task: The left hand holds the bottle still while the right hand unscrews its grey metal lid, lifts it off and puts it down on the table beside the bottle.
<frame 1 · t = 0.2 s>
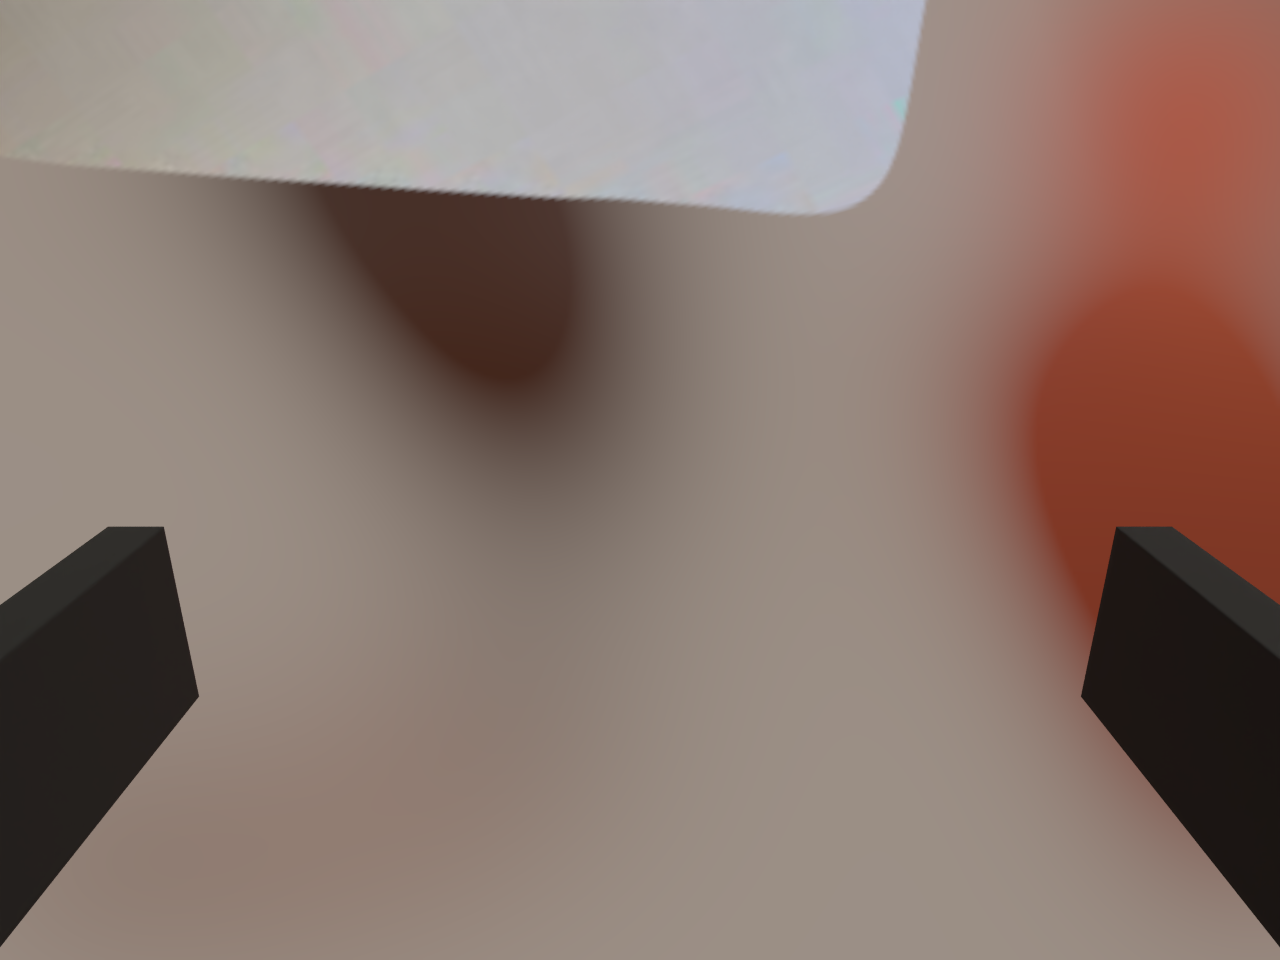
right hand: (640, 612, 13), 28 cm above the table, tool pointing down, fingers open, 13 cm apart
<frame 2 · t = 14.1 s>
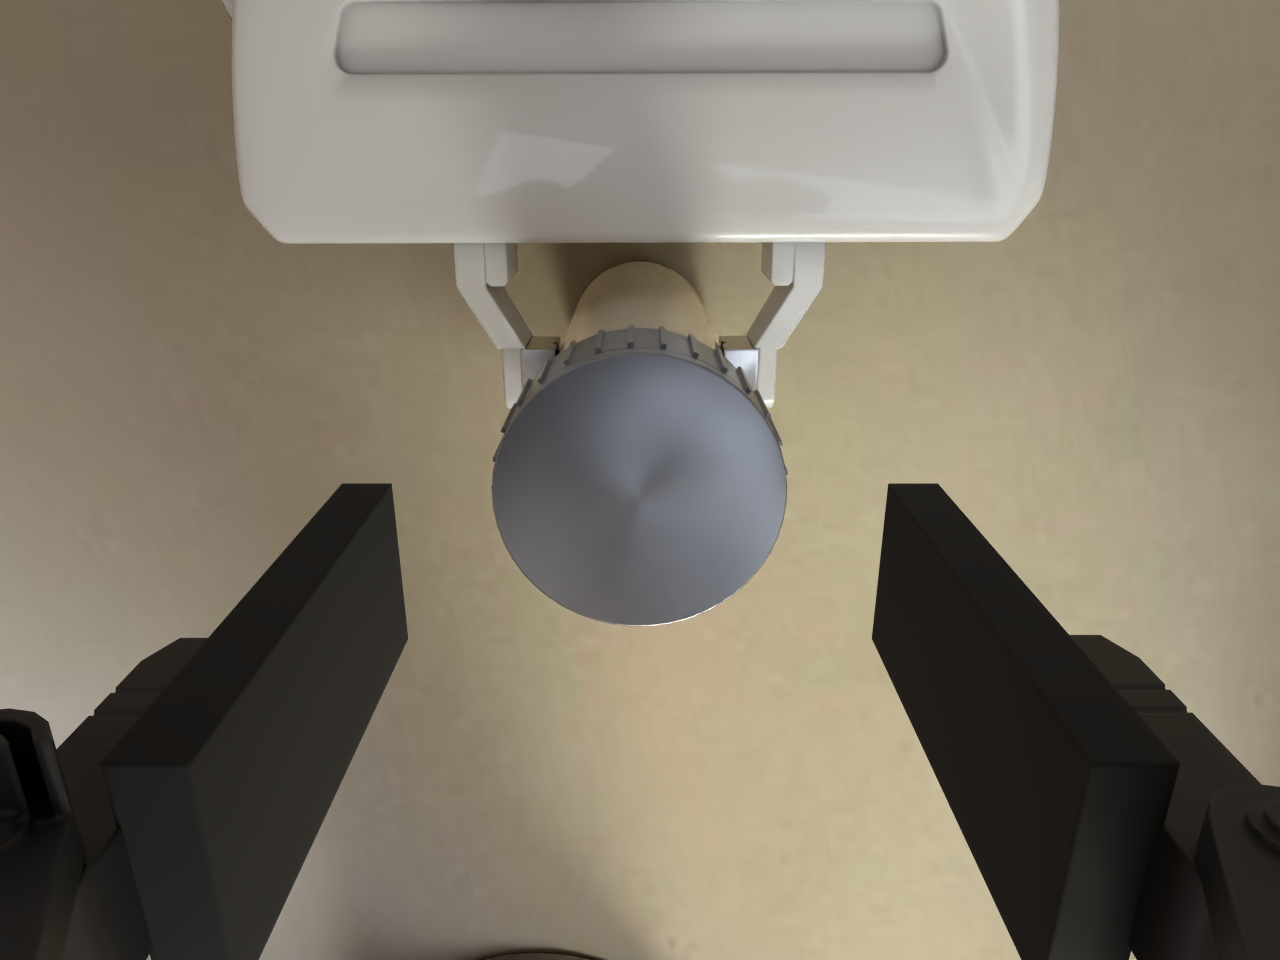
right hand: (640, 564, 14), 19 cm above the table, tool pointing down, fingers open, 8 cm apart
bottle: (639, 329, 31), on the table, touching left hand
lid: (639, 491, 17), point 16 cm above the table, screwed on, not yet turned
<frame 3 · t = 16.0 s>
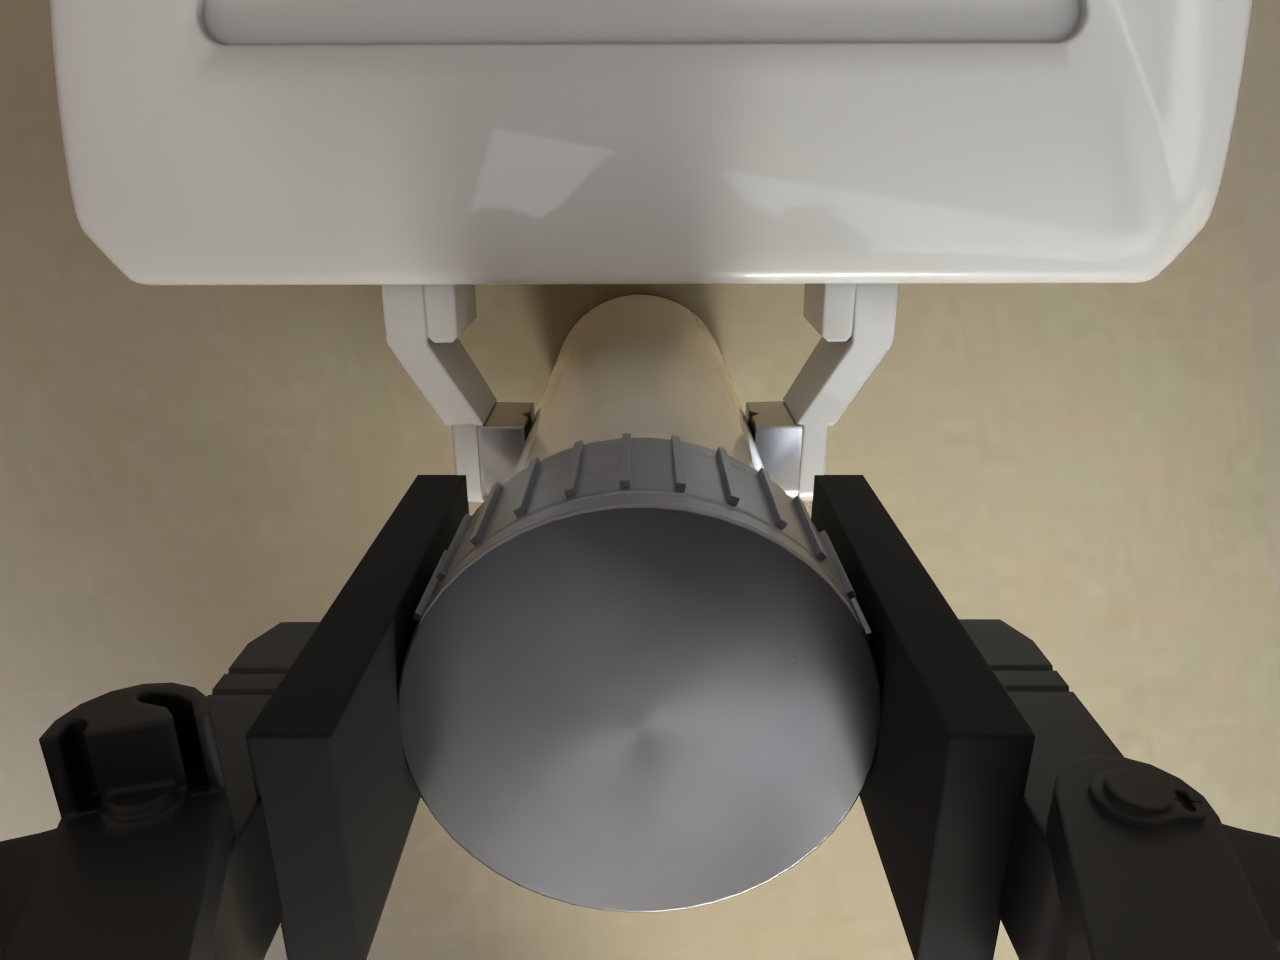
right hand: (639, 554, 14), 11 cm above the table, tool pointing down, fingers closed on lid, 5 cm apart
bottle: (640, 378, 25), on the table, touching left hand
lid: (639, 710, 10), point 16 cm above the table, screwed on, not yet turned, touching right hand
when the right hand's fingers open (12 cm above the table, at t = 17.3 s): lid stays where it is, point 16 cm above the table.
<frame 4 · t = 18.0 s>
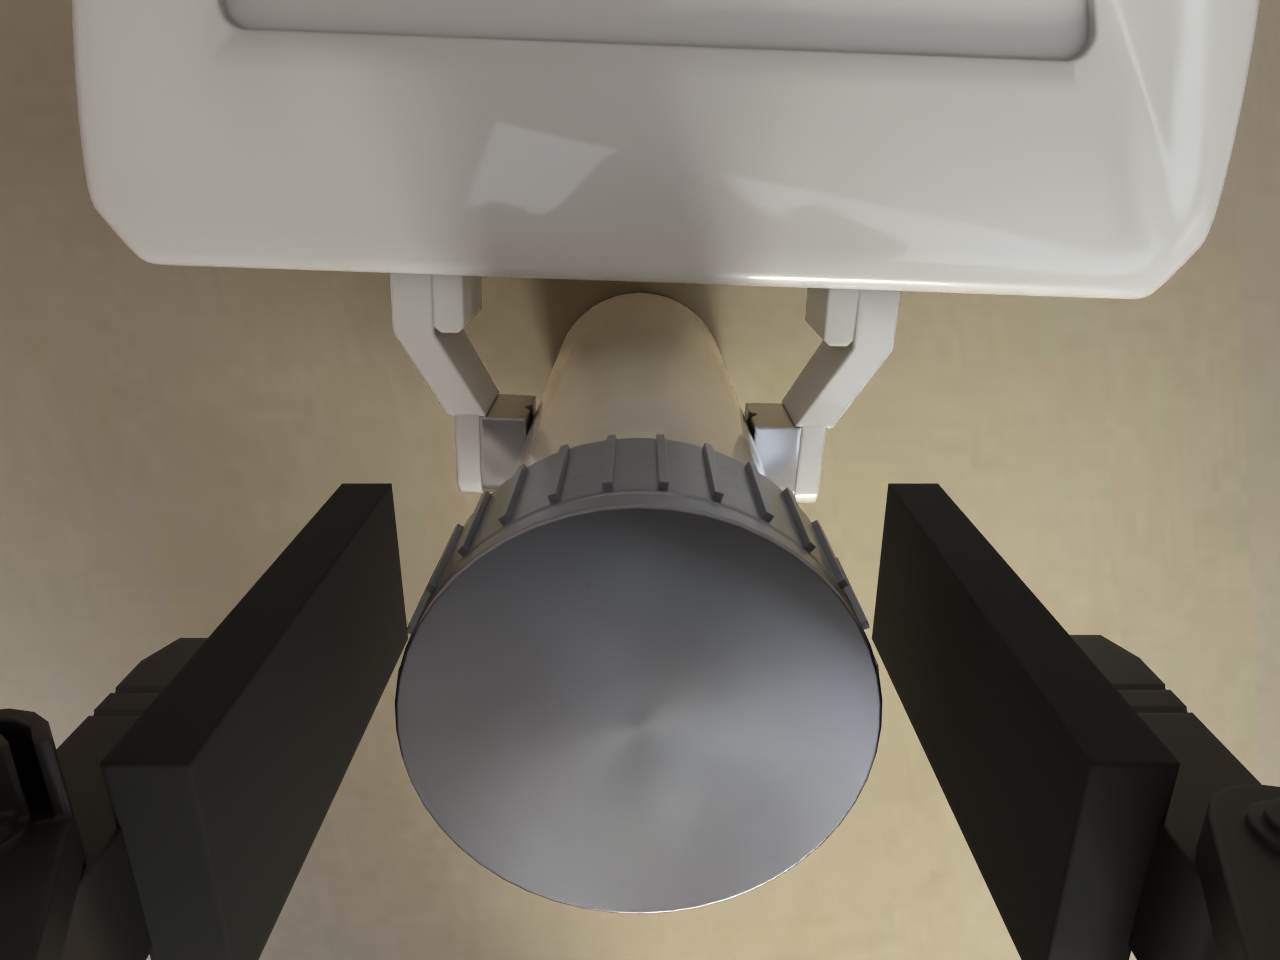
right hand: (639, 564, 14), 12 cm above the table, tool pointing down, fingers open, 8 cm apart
bottle: (639, 376, 25), on the table, touching left hand
lid: (638, 711, 10), point 16 cm above the table, turned 80° so far, risen 0.2 cm, still on its thread
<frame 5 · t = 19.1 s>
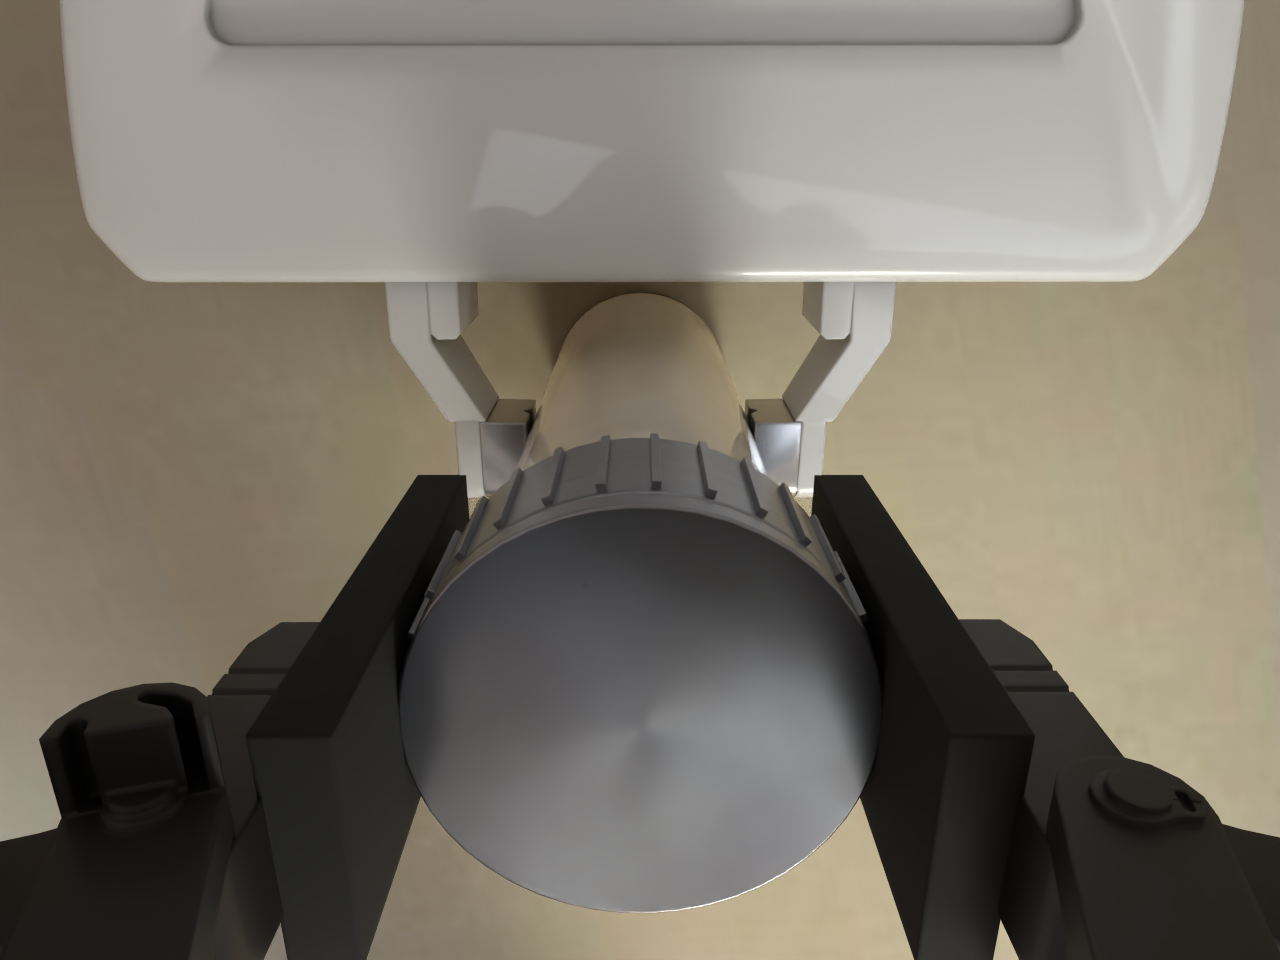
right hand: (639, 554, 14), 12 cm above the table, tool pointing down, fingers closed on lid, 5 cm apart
bottle: (640, 376, 25), on the table, touching left hand
lid: (640, 711, 10), point 16 cm above the table, turned 80° so far, risen 0.2 cm, still on its thread, touching right hand
when the right hand's fingers open (0 cm above the table, at t = 26.5 s): lid drops 2 cm, point 2 cm above the table.
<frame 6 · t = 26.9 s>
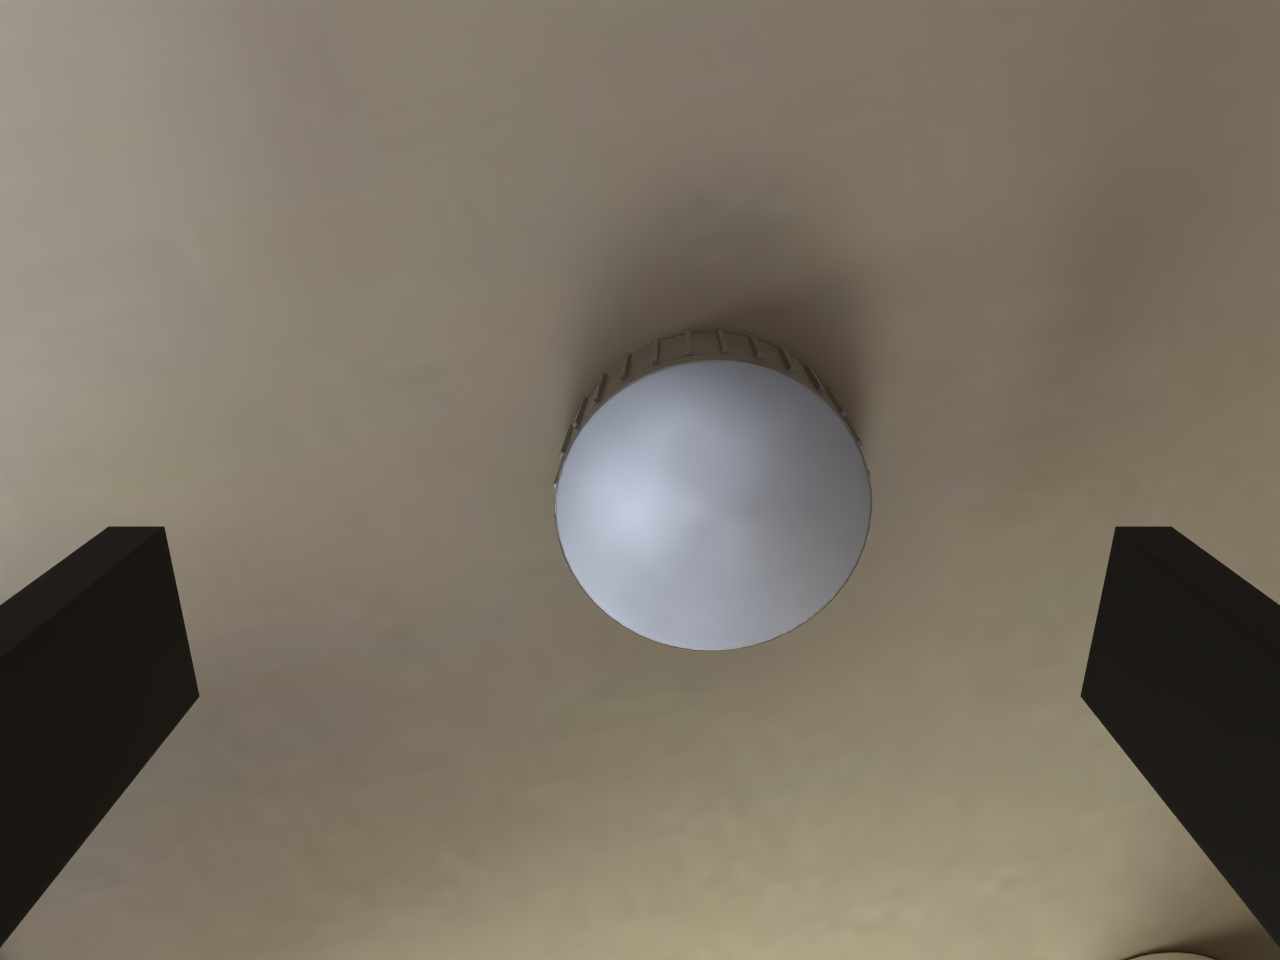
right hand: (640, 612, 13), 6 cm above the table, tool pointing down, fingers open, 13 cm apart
lid: (711, 507, 16), point 2 cm above the table, off its thread
when the left hand's fingers open (6 cm above the table, at t = 27.2 s): bottle stays where it is, on the table.
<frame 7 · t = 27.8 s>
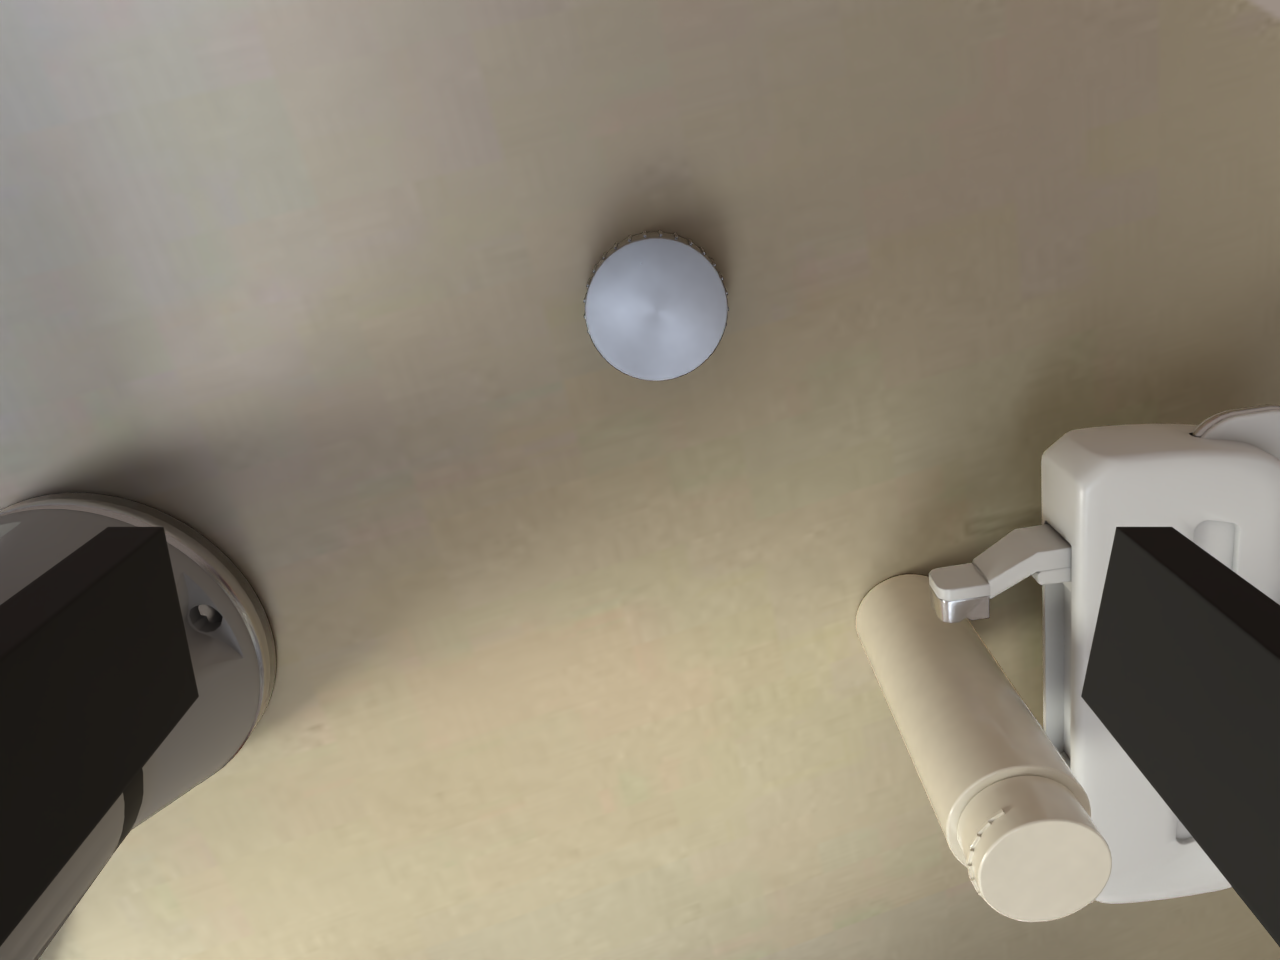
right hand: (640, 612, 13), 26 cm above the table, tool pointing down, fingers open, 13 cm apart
left hand: (939, 700, 36), fingers open, 8 cm apart
bottle: (905, 618, 42), on the table
lid: (656, 309, 35), point 2 cm above the table, off its thread
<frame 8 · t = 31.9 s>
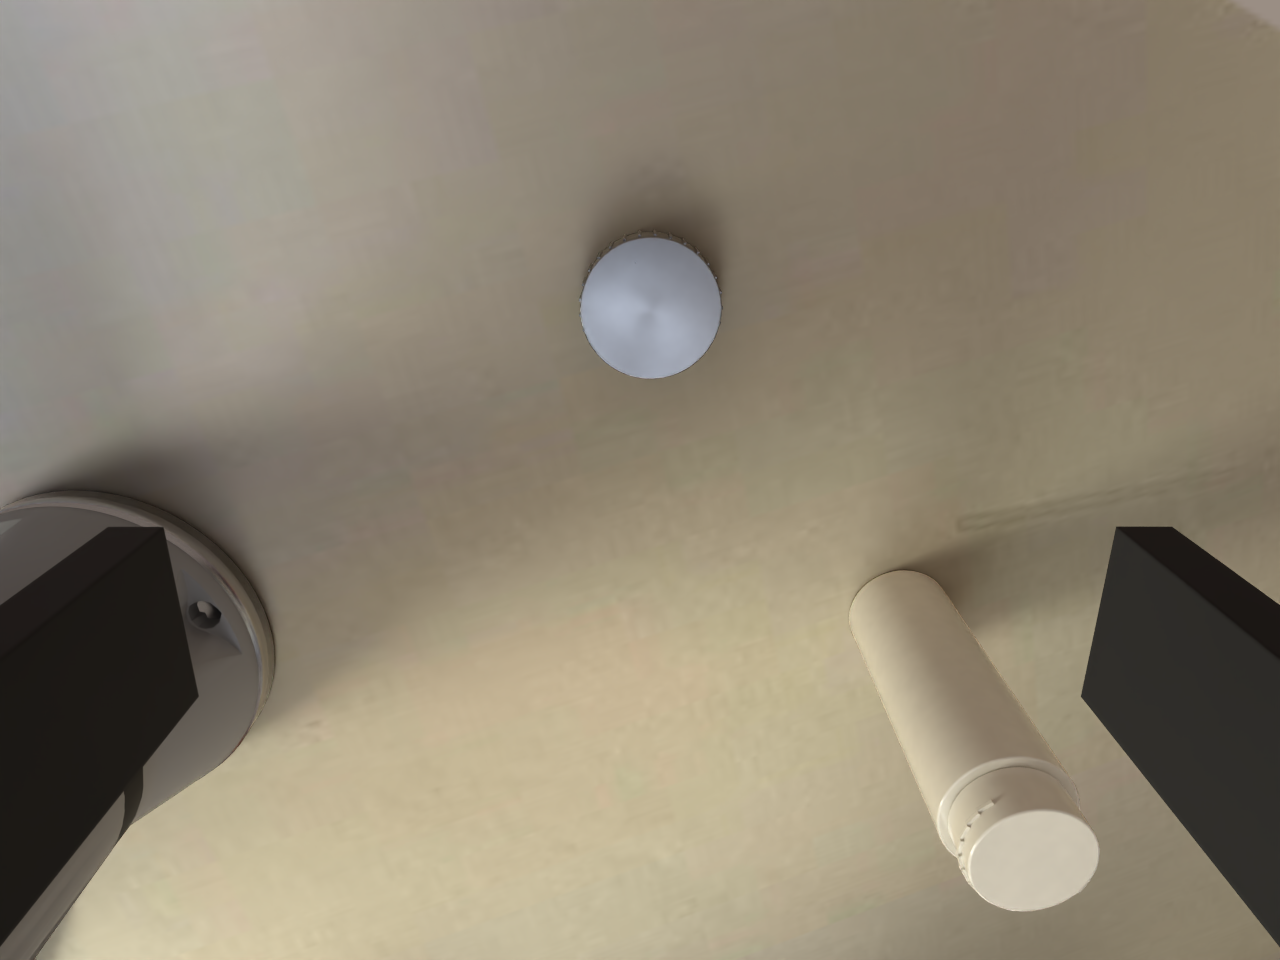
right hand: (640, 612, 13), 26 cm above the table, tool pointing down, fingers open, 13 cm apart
bottle: (898, 614, 42), on the table
lid: (650, 308, 35), point 2 cm above the table, off its thread
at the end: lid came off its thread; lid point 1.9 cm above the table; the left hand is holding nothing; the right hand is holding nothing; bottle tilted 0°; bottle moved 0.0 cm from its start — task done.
